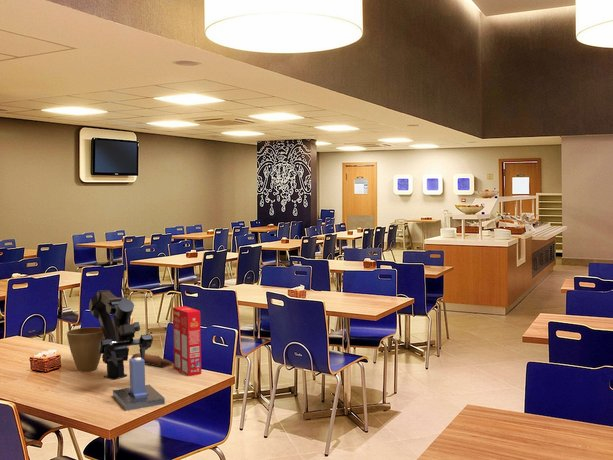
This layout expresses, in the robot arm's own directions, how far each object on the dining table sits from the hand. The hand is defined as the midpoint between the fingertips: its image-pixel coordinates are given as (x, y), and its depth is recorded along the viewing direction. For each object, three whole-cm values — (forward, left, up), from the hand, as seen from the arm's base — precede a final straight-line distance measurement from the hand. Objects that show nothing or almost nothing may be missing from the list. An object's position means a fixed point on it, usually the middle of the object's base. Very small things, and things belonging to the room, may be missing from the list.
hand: (130, 363), depth 229 cm
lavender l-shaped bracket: (+9, -5, -10) cm, 15 cm away
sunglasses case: (-24, +31, -11) cm, 41 cm away
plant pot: (-39, +10, -10) cm, 42 cm away
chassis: (+10, -5, -10) cm, 15 cm away
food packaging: (-3, +31, -10) cm, 32 cm away
